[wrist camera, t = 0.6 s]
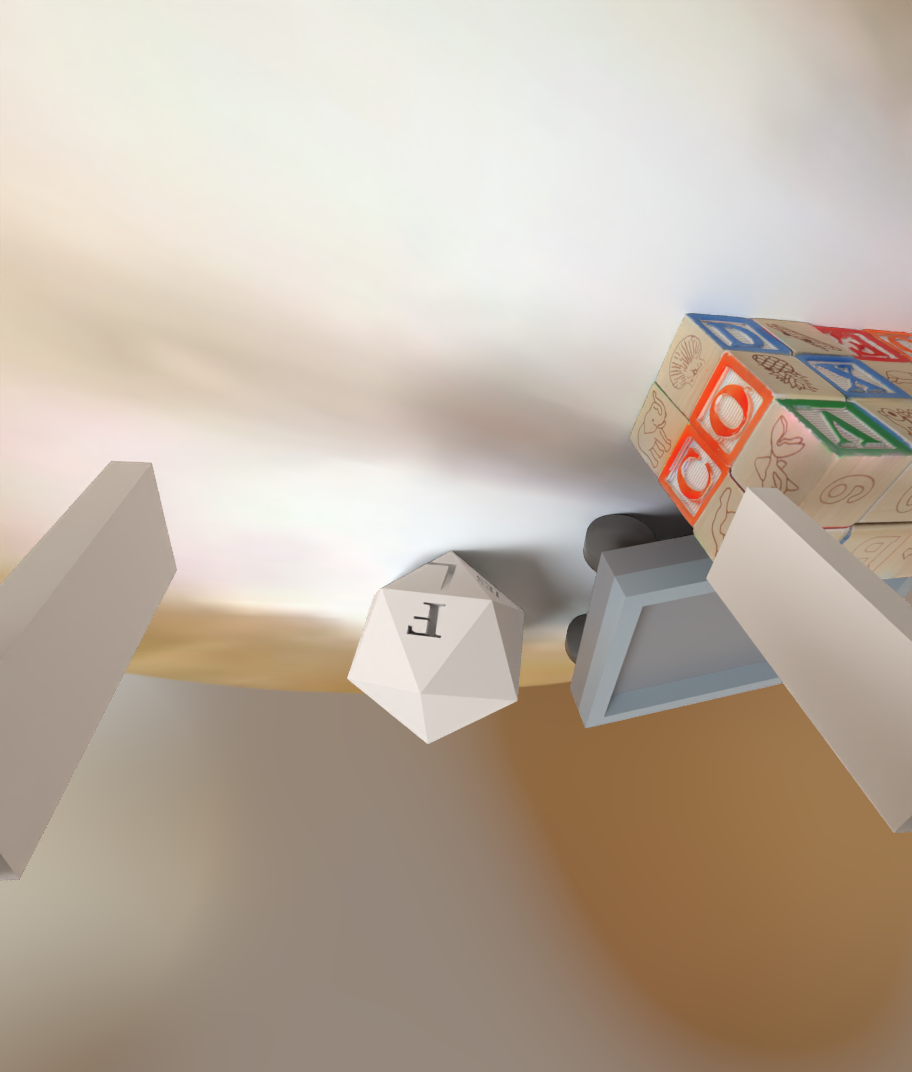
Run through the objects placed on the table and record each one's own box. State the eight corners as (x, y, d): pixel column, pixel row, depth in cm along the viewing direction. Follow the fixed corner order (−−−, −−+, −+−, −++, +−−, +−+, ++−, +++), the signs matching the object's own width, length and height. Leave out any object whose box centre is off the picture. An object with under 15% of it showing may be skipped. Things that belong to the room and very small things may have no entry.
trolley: (575, 502, 28) (625, 597, 24) (871, 449, 30) (966, 528, 26) (552, 642, 38) (585, 728, 33) (779, 595, 40) (837, 670, 35)
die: (531, 544, 31) (527, 609, 22) (517, 682, 33) (509, 794, 24) (388, 531, 32) (326, 587, 23) (384, 666, 34) (327, 767, 25)
